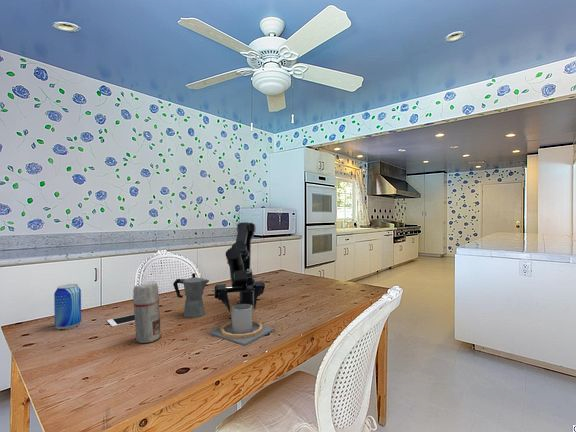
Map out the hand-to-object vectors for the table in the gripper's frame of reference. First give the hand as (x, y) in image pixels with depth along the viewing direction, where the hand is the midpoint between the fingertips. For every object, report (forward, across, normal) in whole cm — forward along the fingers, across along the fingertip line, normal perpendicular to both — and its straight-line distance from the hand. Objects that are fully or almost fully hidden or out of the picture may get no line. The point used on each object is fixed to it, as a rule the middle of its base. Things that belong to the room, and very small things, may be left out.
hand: (242, 309), depth 109 cm
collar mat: (+5, 0, +7) cm, 9 cm away
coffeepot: (-14, -18, +26) cm, 34 cm away
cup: (+5, -1, +7) cm, 8 cm away
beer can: (-15, -64, +27) cm, 71 cm away
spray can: (+2, -32, +10) cm, 34 cm away
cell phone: (-15, -41, +28) cm, 52 cm away
